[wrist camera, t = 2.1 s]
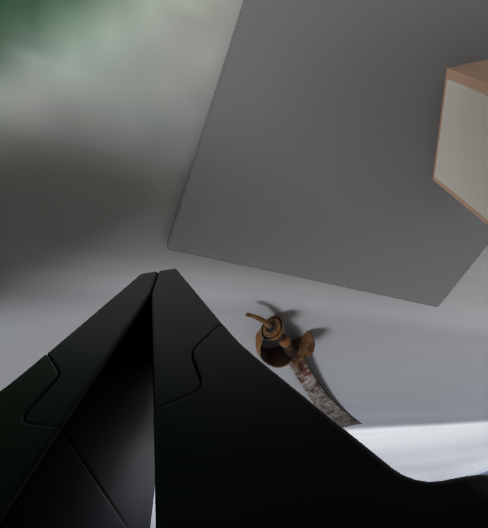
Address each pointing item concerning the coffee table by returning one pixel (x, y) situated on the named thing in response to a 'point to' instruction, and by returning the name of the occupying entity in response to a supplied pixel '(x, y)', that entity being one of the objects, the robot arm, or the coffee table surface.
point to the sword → (297, 364)
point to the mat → (336, 146)
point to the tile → (465, 137)
